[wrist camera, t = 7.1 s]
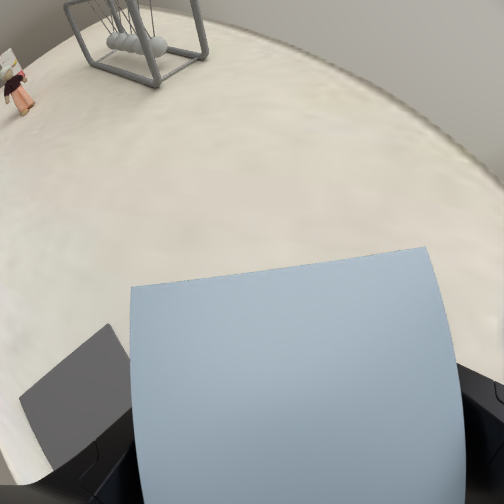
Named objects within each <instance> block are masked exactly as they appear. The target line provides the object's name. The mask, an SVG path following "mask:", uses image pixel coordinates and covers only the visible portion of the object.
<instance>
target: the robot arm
mask: <svg viewBox="0 0 504 504" xmlns="http://www.w3.org/2000/svg"><path fill="white" fill-rule="evenodd" d="M456 364H457V369H458V376H459V382H460V390H461V397H462V406H463V417H464V429H465V449H466V485H465V504H504V385H502V384H500V383H498V382H496V381H493V380H492V379H490V378H487V377H485V376H483V375H481V374H479V373H477V372H475V371H473V370H471V369H469V368H466V367H464V366H462V365H460V364H458V363H456ZM95 440H96V441H95ZM95 440H94V441H92V442H91V443H90V444H89V445H88V446H87V447H85V448H84V449H83V450H82V451H81V452H79V453H78V454H77V455H76V456H74V457H73V458H72V459H70V460H69V461H67V462H66V463H65V464H63V465H62V466H60V467H59V468H57V469H56V470H54V471H53V472H51V473H50V474H48V475H47V476H45V477H44V478H42V479H41V480H39V481H37V482H35V483H32V484H28V485H0V504H145V503H144V498H143V492H142V487H141V480H140V474H139V467H138V460H137V452H136V444H135V434H134V424H133V412H132V407H131V408H130V409H128V410H127V411H126V412H125V413H124V414H123V415H122V416H121V417H120V418H118V419H117V420H116V421H115V422H114V423H113V424H112V425H111V426H110V427H108V428H107V429H106V430H105V431H104V432H103V433H102V434H100V435H99V436H98V437H97V438H96V439H95Z"/></svg>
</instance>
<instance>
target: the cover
mask: <svg viewBox="0 0 504 504" xmlns="http://www.w3.org/2000/svg"><path fill="white" fill-rule="evenodd" d="M130 377H131V397H132V412H133V424H134V434H135V444H136V452H137V460H138V467H139V474H140V480H141V487H142V492H143V498H144V503H145V504H465V485H466V449H465V429H464V417H463V406H462V397H461V390H460V382H459V376H458V369H457V364H456V358H455V353H454V347H453V343H452V338H451V333H450V329H449V324H448V320H447V316H446V312H445V308H444V304H443V301H442V297H441V293H440V290H439V286H438V283H437V280H436V276H435V273H434V270H433V267H432V264H431V260H430V257H429V255H428V252H427V249H426V247H420V248H413V249H407V250H401V251H395V252H388V253H382V254H375V255H369V256H362V257H356V258H349V259H342V260H336V261H329V262H322V263H315V264H308V265H301V266H294V267H287V268H279V269H272V270H265V271H257V272H250V273H242V274H235V275H227V276H219V277H211V278H203V279H195V280H187V281H179V282H171V283H162V284H154V285H145V286H136V287H131V300H130Z"/></svg>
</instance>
